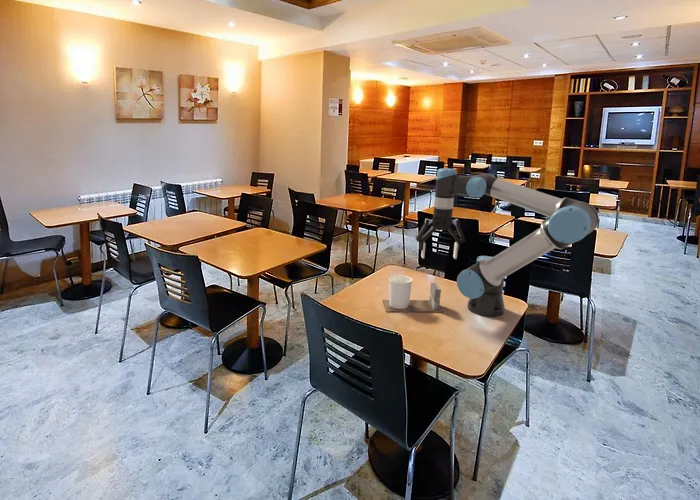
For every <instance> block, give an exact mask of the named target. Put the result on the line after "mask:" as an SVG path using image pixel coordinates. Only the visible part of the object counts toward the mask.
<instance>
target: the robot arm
mask: <svg viewBox="0 0 700 500" xmlns="http://www.w3.org/2000/svg"><path fill="white" fill-rule="evenodd" d="M435 178H436V179H435V193H434V201H433V203H434V204H433V206H434V208H433V214H432V219H429V218H425V219H424V223H423V225H422V227H421V228H420V230H419V232H418V233H417V235H416V237H415V241H417V242H418V243H419V250H420V251H421V254H420V256H421V258H422V260H423V259H425V253H426V242H425V241H427V240H428V238H429V237H430V236H431V235H432V234H433V233H434V232H436V231H448V232H449V233H450V234H451V236H452V237H453V239H454V240H455V242H454V244H453V255H452V257H453V259H454V260H457V258H458V251H460V250H461V245H462V243H465V242H466V237H465V236H464V233H463V230H462V228H461V225H460V224H461V223H460V220H459V218H455V219H453V207H454V201H455V195H459V196H465V197H471V198H481V197H482V198H483V195H486V196H488V197H492V198H494V199H496V200H497V199H498V200H501V201H503V202H506V203H508V204H512V205H514V206H518V207H521V208H523V209H526V210H529V211H531V212H535V213H537V214H541V215H543V216H545V217H547V218H545V219H544V220H542V221H541V223H540V227H539V228H537V229H536V230H534V231H533V232H531V233H530V234H528V235H526V236H524V237H523V238H521V239H520V240H518V241H516V242H515V243H513V244H512V245H511V246H509V247H507V248H506V249H504V250H502V251H501V252H499V253H498V254H496V255H494V256H488V255H480V256H478V257H477V258H476V263H475V264H472V265H471V266H470V267H468V268H466V269H463V270H461V272H459V274H458V275H457V278H456V286H457V289H458V291H459V292H460V293H461V294H462V296H464V297H465V298H468V301H467V309H468V311H470V312H471V313H473V314H475V315H480V316H483V317H498V316H502V315H503V314H504V313H505V307H506V306H505V303H504V302H505V301H504V298H503V297H504V296H503V292H504V291H503V289H504V282H505V278H506V277H508V276H510V275H512V274H513V273H515V272H516V271H518V270H519V269H521V268H523V267H525V266H527V265H528V264H530V263H532V262H534V261H535V260H537V259H539V258H541V257H542V256H544V255H546V254H547V253H549V252H551V251H553V250H554V249H556V250H557V249H558V250H563V249H565V248H567V247H569V246H570V245H572V244H574V243H576V242H577V243H578V242H580V241H581V240H583V239H584V238H585V237H586V236H588V235H589V234H591V233H592V232H594V231H595V229H596V228H597V227H598V224H599V219H600V217H599V216H600V215H599V213H598V211H597V209H596V208H595V207H594V206H593V205H592V204H589V203H587V202H585V201H580V200H577V199H572V198H570V197H567V196H566V197H563V198H560V197H557V196H554V195H551V194H548V193H545V192H542V191H538V190H536V189H533V188H529V187H526V186H522V185H520V184H517V183H513V182H511V181H507V180H503V179H502V178H498V177H496V176H495V175H494V174H492V173H485V172H484V173H481V174H476V175H475V174H474V175H470V176H469V175H459V174H457V170H456V169H454V168H446V167H445V168H443V167H442V168H439V169H437V171H436V177H435ZM430 224H432V225H431V226H430ZM452 225H454V226H455V228H456V231H457V233H458V236H457V234H456V233H455V232H454V230H453V229H452V228H451V226H452ZM429 226H430V227H429ZM428 227H429V229H428ZM427 229H428V231H426V230H427Z"/></svg>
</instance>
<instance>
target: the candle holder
mask: <svg viewBox="0 0 700 500" xmlns="http://www.w3.org/2000/svg"><path fill="white" fill-rule="evenodd" d="M412 284H413V278H412V277H410V276H407V275H403V274H402V275H400V274H395V275H391V276H389V278H388V300H389V305H390V306H391V307H392V308H395V309H405V308H407V307H408V306H409V300H411V291H412Z"/></svg>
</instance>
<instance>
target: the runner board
mask: <svg viewBox="0 0 700 500" xmlns="http://www.w3.org/2000/svg"><path fill="white" fill-rule="evenodd" d="M429 289H430V290H429V299H423V300H422V299H418V300H417V299H410V300H409V306H408V307H407V308H405V309H395V308H392V307H391V306H390V305H389V299H382V303H383V306H384V309H385V313H444V310H443V308H442V307H441V303H440V302H441V293H442V289H441V288H440V286H439V285H438V283H437V282H431V283H430V288H429Z"/></svg>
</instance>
